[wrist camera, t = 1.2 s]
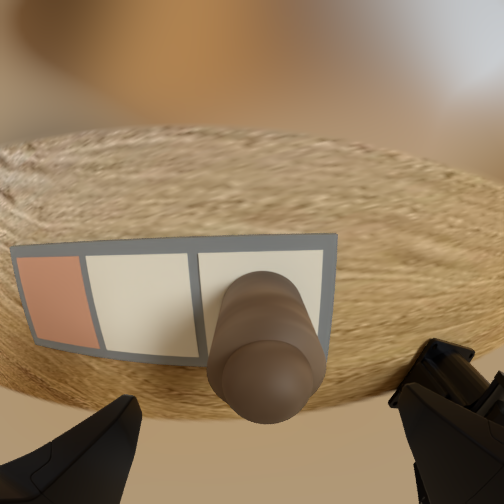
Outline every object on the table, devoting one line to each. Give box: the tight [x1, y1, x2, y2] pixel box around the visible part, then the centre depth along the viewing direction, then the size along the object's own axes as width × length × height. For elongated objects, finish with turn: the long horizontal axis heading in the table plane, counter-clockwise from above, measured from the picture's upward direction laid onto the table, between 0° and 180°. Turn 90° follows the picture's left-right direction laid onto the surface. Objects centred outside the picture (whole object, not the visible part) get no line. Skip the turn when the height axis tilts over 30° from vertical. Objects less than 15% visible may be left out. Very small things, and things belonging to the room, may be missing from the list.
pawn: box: [207, 271, 326, 424], centre depth 11 cm, size 4×4×8 cm
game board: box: [10, 233, 338, 367], centre depth 15 cm, size 22×8×1 cm, turn 91°
